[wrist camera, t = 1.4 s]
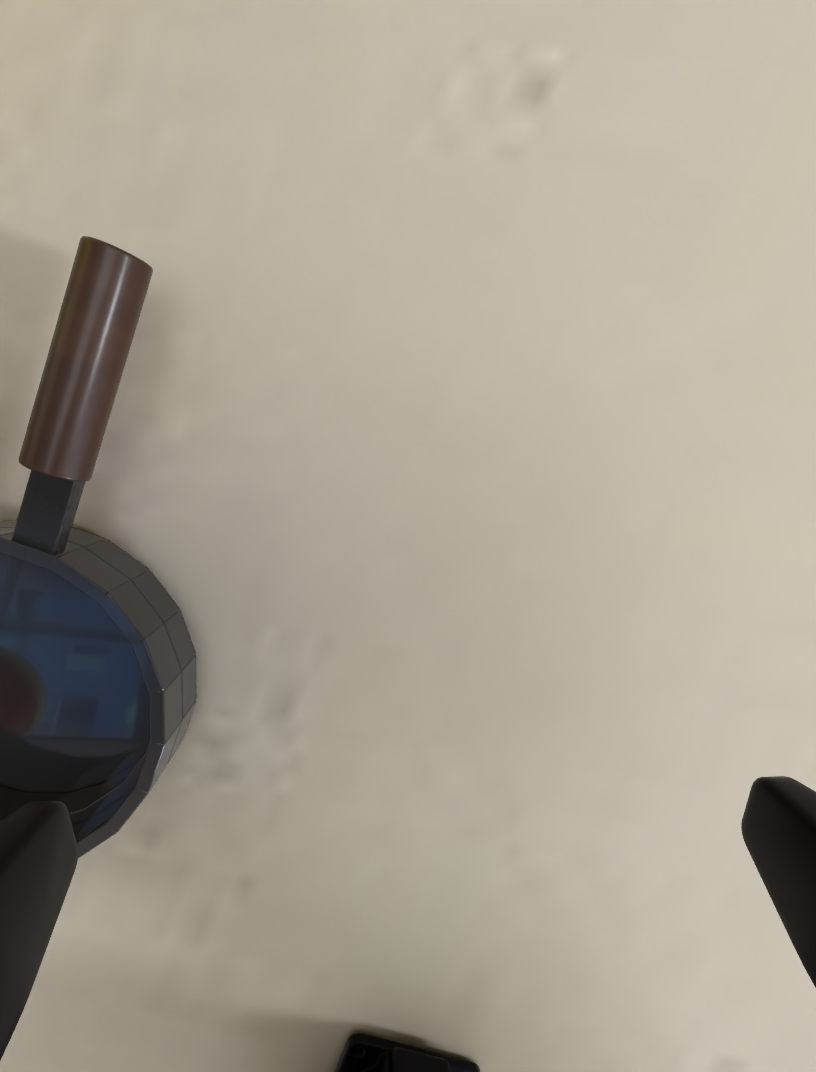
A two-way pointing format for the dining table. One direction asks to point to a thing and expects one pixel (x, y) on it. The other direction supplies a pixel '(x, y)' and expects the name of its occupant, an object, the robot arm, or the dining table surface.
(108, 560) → the pan
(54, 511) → the pan handle
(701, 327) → the dining table surface
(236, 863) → the dining table surface
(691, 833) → the dining table surface
